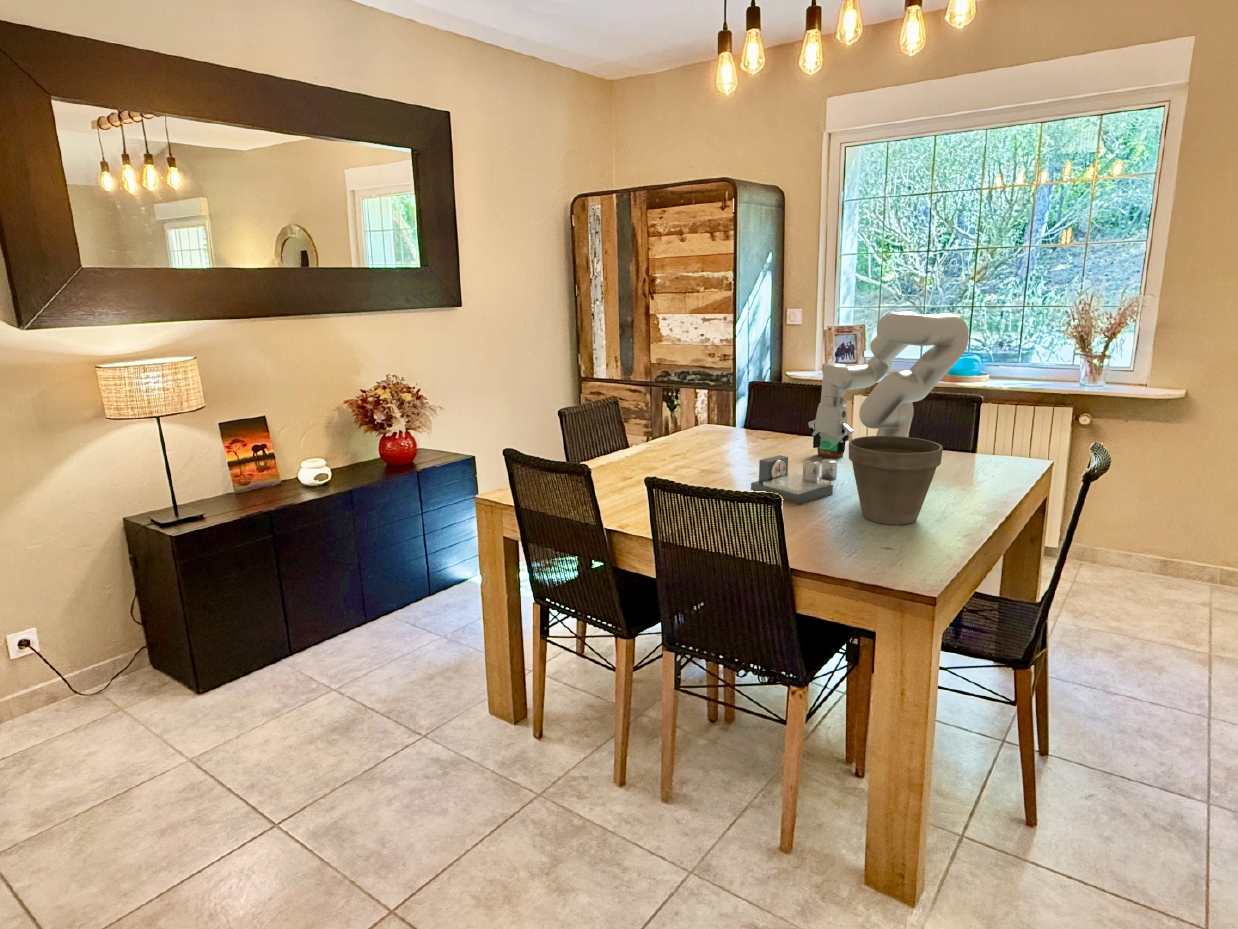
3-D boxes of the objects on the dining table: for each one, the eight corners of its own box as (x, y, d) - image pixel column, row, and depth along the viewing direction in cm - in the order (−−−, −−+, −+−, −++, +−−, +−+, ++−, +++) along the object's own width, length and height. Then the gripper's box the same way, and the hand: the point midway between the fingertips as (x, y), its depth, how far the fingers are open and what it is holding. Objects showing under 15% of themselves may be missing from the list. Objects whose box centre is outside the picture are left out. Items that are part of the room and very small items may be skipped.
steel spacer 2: (839, 478, 256) (840, 461, 255) (830, 480, 253) (831, 463, 251) (827, 475, 260) (828, 458, 258) (818, 478, 257) (819, 461, 255)
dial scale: (832, 494, 237) (834, 463, 235) (798, 504, 227) (800, 472, 225) (784, 482, 252) (785, 453, 249) (750, 491, 241) (751, 461, 239)
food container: (810, 457, 285) (811, 431, 283) (814, 454, 291) (815, 428, 288) (843, 460, 280) (845, 434, 277) (846, 457, 285) (848, 431, 283)
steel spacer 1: (822, 480, 237) (823, 462, 236) (812, 483, 234) (813, 464, 233) (809, 477, 241) (810, 459, 240) (799, 480, 238) (800, 462, 237)
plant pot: (864, 499, 231) (868, 430, 226) (947, 514, 216) (954, 440, 211) (830, 520, 213) (834, 445, 207) (918, 537, 197) (925, 457, 192)
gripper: (861, 403, 246) (856, 453, 251) (817, 395, 259) (814, 443, 263) (848, 406, 241) (843, 457, 246) (804, 398, 254) (800, 447, 259)
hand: (828, 450), depth 255 cm, fingers open, 9 cm apart
